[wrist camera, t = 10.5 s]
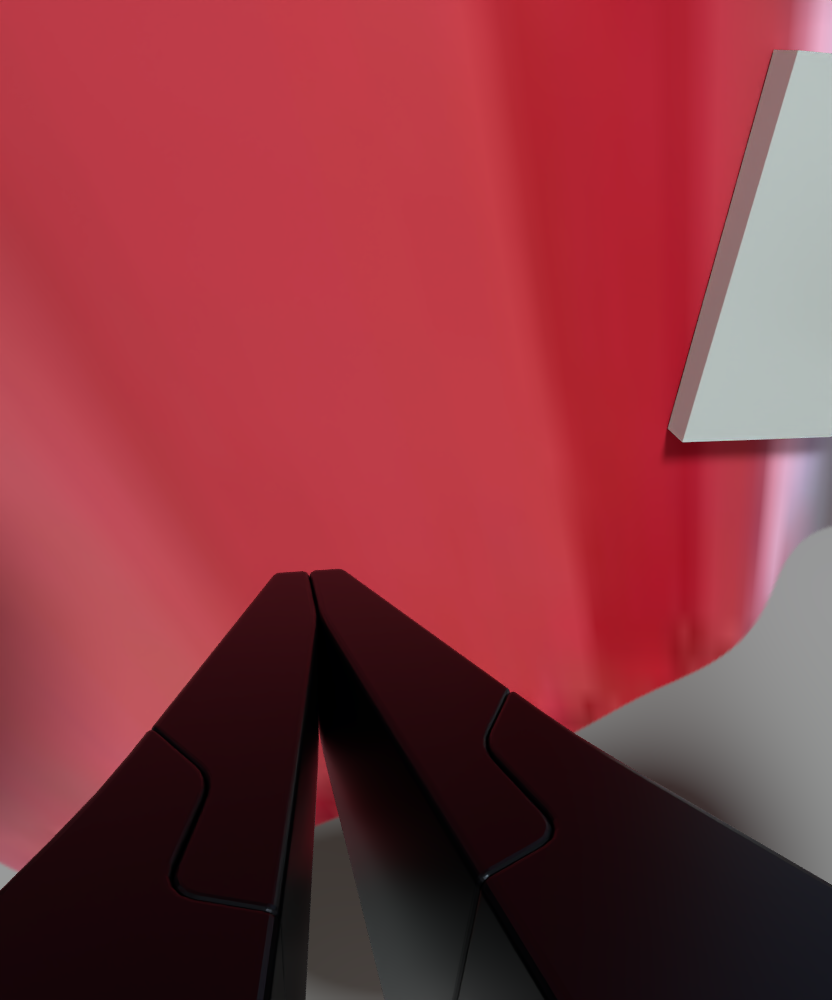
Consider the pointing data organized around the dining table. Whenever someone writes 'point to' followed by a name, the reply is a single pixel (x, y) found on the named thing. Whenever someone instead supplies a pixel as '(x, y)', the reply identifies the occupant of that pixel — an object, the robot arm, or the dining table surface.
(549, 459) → the dining table surface
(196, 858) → the robot arm
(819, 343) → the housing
